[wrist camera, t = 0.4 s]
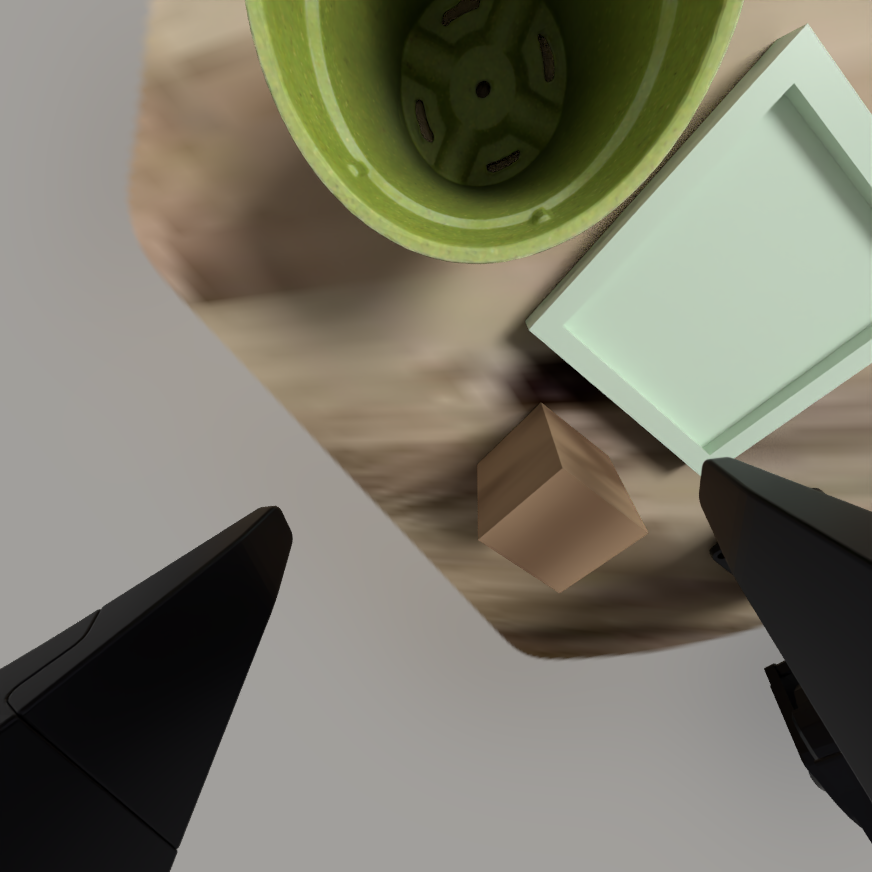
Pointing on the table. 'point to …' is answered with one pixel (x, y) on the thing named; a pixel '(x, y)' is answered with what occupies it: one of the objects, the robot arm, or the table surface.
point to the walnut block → (553, 502)
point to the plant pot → (487, 109)
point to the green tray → (734, 266)
